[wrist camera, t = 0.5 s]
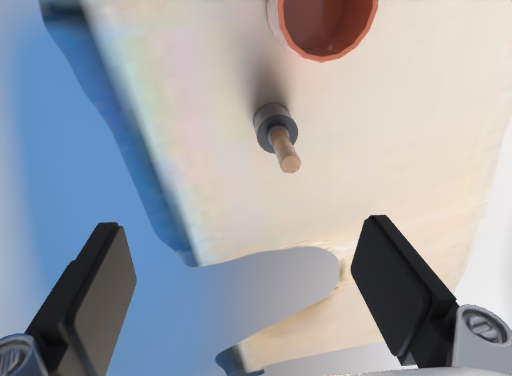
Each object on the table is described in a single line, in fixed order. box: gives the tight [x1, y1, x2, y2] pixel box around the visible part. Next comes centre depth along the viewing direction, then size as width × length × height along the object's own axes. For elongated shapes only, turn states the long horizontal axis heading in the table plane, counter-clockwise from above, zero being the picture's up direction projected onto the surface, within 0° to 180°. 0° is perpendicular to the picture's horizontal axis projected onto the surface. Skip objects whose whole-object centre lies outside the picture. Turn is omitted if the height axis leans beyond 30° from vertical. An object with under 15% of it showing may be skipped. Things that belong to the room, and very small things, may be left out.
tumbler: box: [267, 0, 378, 62], centre depth 28 cm, size 9×9×8 cm
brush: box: [254, 103, 301, 174], centre depth 32 cm, size 5×5×13 cm
